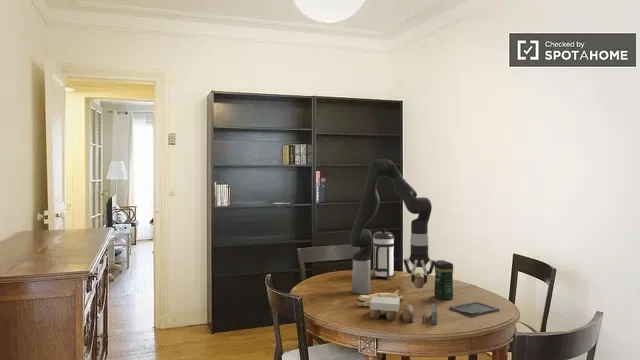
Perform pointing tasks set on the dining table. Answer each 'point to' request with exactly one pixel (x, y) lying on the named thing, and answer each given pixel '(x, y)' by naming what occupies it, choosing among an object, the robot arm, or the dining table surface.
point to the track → (391, 315)
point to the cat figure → (366, 300)
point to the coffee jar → (443, 279)
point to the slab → (385, 303)
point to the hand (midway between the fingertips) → (419, 283)
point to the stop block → (434, 313)
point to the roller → (419, 280)
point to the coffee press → (383, 254)
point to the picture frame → (474, 308)
